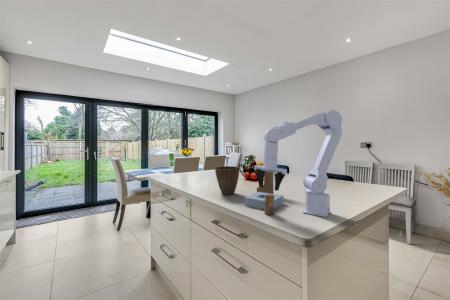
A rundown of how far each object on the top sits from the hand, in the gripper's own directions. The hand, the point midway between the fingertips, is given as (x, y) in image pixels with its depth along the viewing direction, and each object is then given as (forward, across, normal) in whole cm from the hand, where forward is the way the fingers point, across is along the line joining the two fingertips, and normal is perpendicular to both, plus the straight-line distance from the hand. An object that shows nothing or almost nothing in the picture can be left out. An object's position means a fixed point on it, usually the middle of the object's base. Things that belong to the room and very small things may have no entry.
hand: (268, 188), depth 88 cm
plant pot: (+12, -36, +16) cm, 41 cm away
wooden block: (+11, -17, +27) cm, 33 cm away
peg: (+11, +1, 0) cm, 11 cm away
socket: (+11, -8, +11) cm, 17 cm away
